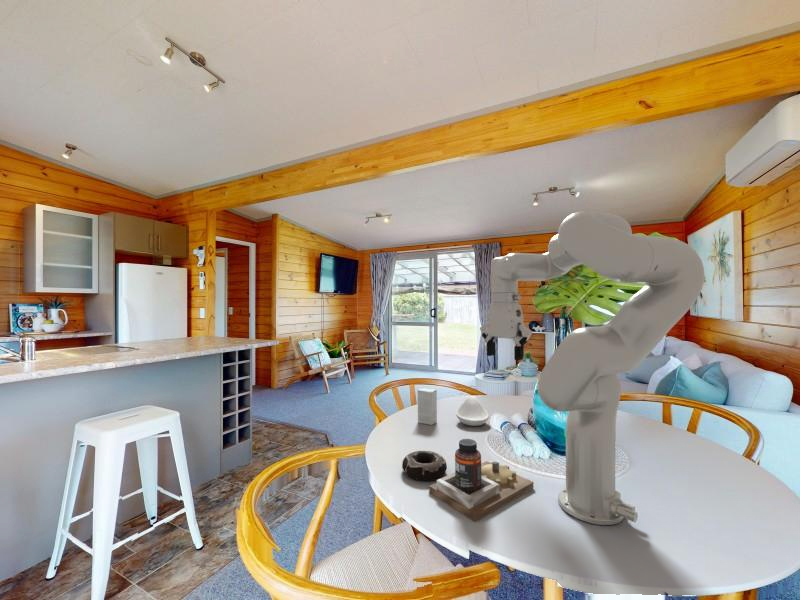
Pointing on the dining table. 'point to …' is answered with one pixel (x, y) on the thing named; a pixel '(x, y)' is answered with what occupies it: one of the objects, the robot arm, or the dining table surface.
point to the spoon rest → (472, 412)
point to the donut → (424, 465)
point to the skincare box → (427, 406)
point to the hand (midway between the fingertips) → (504, 357)
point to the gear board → (483, 491)
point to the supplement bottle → (468, 467)
